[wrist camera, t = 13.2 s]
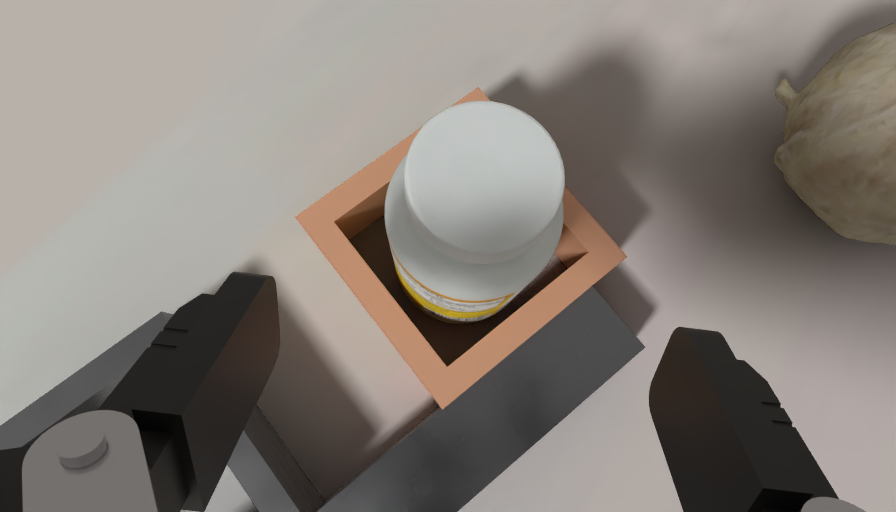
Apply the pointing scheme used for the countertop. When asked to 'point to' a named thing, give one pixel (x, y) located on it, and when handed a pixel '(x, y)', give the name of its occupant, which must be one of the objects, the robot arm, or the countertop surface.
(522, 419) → the rail
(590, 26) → the countertop surface
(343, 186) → the marked socket
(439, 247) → the supplement bottle
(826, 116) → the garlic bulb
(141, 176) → the countertop surface
